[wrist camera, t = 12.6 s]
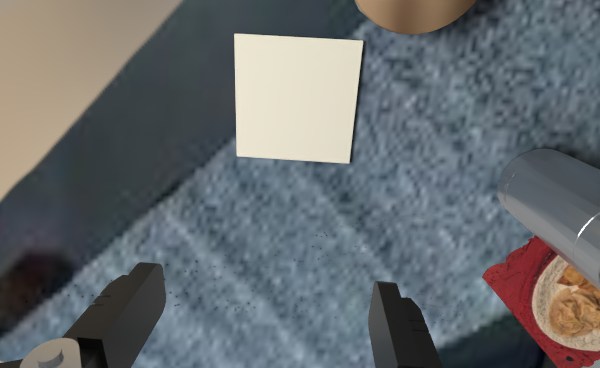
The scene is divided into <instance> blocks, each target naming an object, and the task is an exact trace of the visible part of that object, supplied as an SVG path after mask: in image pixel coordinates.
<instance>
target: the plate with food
mask: <svg viewBox="0 0 600 368" xmlns="http://www.w3.org/2000/svg"><path fill="white" fill-rule="evenodd" d="M534 237H535V238H531V239H528V242H529V243H528V244H526V245H523V247H522V248H519V249H517V250H514V251H513V252H511V253H510V254H509V256H508V257H507V258H506V261H505V263H501V264H496V265H494V266H492V267H490V268H489V269H487V271H486V272H485V273H484V275H483V277H482V278H483V279H484V280H485V281H486V282H487V283H488V285H489V286H491V288H492V289H493V290H494V291H495V292H496V294H497V295H498V296H499V297H500V298H501V300H502V301H503V302H504V303H505V305H506V306H507V307H508V308H509V310H510V311H511V312H512V313H513V314H514V316H515V317H516V318H517V319H518V320H519V322H520V323H521V324H522V325H523V326H524V328H525V329H526V330H527V331H528V332H529V334H530V335H531V336H532V337H533V338H534V339H535V341H536V342H537V343H538V344H539V346H540V347H541V348H542V349H543V350H544V352H545V353H546V354H547V355H548V356H549V357H550V359H551V360H552V361H553V362H554V363H555V365H556V366H557V367H558V368H581V367H582V366H586V367H589V366H591V365H593V364H594V361H596V360H599V359H600V291H599V290H598V289H597V288H596V287H595V286H594V285H592V284H591V283H590V282H589V281H588V280H587V279H586V278H584V277H583V276H582V275H581V274H580V273H579V272H577V271H576V270H575V269H574V268H573V267H572V266H571V265H569V264H568V263H567V262H566V261H565V260H564V259H562V258H561V257H560V256H559V255H558V254H557V253H556V252H554V251H553V250H552V249H551V248H550V247H549V246H548V245H546V244H545V243H544V242H543V241H542V240H541V239H540V238H538V237H537V236H534ZM567 356H569V357H571V358H573V359H574V361H567V360H566V357H567Z"/></svg>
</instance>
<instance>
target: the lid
mask: <svg viewBox="0 0 600 368" xmlns="http://www.w3.org/2000/svg"><path fill="white" fill-rule="evenodd" d="M476 1H477V0H355V2H356V3H357V5H358V6H359V8H360V9H361V11H362V12H363V13H364V14H365V15H366V16H367V17H368V18H369V19H370V20H371V21H372V22H374V23H375V24H377V25H378V26H380V27H382V28H384V29H386V30H388V31H392V32H395V33H400V34H420V33H427V32H431V31H434V30H437V29H439V28H442V27H444V26H446V25H448V24H450V23H451V22H453V21H455V20H456V19H458V18H459V17H460V16H461V15H463V14H464V13H465V12H466V11H467V10H468V9H469V8H470V7H471V6H472V5H473V4H474V3H475V2H476Z"/></svg>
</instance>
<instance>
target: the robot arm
mask: <svg viewBox="0 0 600 368" xmlns="http://www.w3.org/2000/svg"><path fill="white" fill-rule="evenodd" d="M497 195H498V198H499V201H500V202H501V204H502V205H503V206H504V207H505V208H506V209H507V210H508V211H509V212H510V213H511V214H513V215H514V216H515V217H516V218H517V219H518V220H519V221H520V222H521V223H522V224H524V225H525V226H526V227H527V228H528V229H529V230H530V231H532V232H533V233H534V234H535V235H536V236H537V237H538V238H540V239H541V240H542V241H543V242H544V243H545V244H546V245H548V246H549V247H550V248H551V249H552V250H553V251H554V252H556V253H557V254H558V255H559V256H560V257H561V258H562V259H564V260H565V261H566V262H567V263H568V264H569V265H571V266H572V267H573V268H574V269H575V270H576V271H577V272H579V273H580V274H581V275H582V276H583V277H584V278H586V279H587V280H588V281H589V282H590V283H591V284H592V285H594V286H595V287H596V288H597V289H598V290H599V291H600V170H599V169H597V168H595V167H593V166H590V165H588V164H586V163H584V162H582V161H580V160H577V159H575V158H573V157H571V156H568V155H566V154H564V153H562V152H559V151H556V150H553V149H544V148H543V149H535V150H532V151H528V152H526V153H524V154H522V155H520V156H518V157H517V158H515V159H514V160H512V161H511V162H510V163H509V164H508V165H507V166H506V168H505V169H504V171H503V172H502V174H501V176H500V178H499V180H498V185H497ZM165 303H166V293H165V284H164V276H163V268H162V265H161V264H155V263H142V262H140V263H138V264H137V265H136V266H135V267H134V269H133V270H132V271H131V272H130V273H129V275H122V276H120V277H119V278H117V279H116V280H114V281H112V282H111V283H109V284H108V285H107V287H106V288H105V289H104V290H103V291H102V292H101V294H100V296H98V297H97V298H96V299H95V300H94V302H93V303H92V305H90V306H89V307H88V308H87V310H86V311H85V312H84V313H83V314H82V315H81V316H80V318H79V319H78V320H77V321H76V322H75V323H74V324H73V326H72V327H71V328H70V329H69V330H68V331H67V332H66V334H65V335H64V336H63V337H62V338H59V339H54V340H51V341H48V342H46V343H44V344H42V345H40V346H38V347H36V348H35V349H34V350H32V351H31V352H30V353H29V354H28V355H27V356H26V357H25V358H24V359H21V360H16V361H10V362H4V363H0V368H131V366H132V365H133V363H134V361H135V360H136V358H137V356H138V354H139V353H140V351H141V349H142V347H143V346H144V344H145V342H146V341H147V339H148V337H149V335H150V334H151V332H152V330H153V328H154V327H155V325H156V323H157V322H158V320H159V318H160V316H161V315H162V313H163V310H164V307H165ZM368 325H369V334H370V340H371V345H372V351H373V356H374V362H375V367H376V368H443V366H442V364H441V361H440V359H439V356H438V353H437V351H436V348H435V346H434V343H433V341H432V338H431V335H430V334H429V330H428V328H427V325H426V323H425V320H424V317H423V315H422V312H421V310H420V308H419V307H418V306H417V305H416V304H415V303H414V302H413V300H412V299H411V298H401V295H400V292H399V289H398V286H397V284H396V283H392V282H379V281H375V283H374V287H373V293H372V298H371V304H370V310H369V318H368Z"/></svg>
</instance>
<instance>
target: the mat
mask: <svg viewBox="0 0 600 368" xmlns="http://www.w3.org/2000/svg"><path fill="white" fill-rule="evenodd" d="M234 38H235V87H236V137H237V156H242V157H258V158H273V159H288V160H303V161H318V162H334V163H349V161H350V152H351V143H352V135H353V126H354V117H355V108H356V100H357V91H358V82H359V73H360V65H361V56H362V47H363V41H358V40H341V39H323V38H305V37H287V36H269V35H252V34H234Z"/></svg>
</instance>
